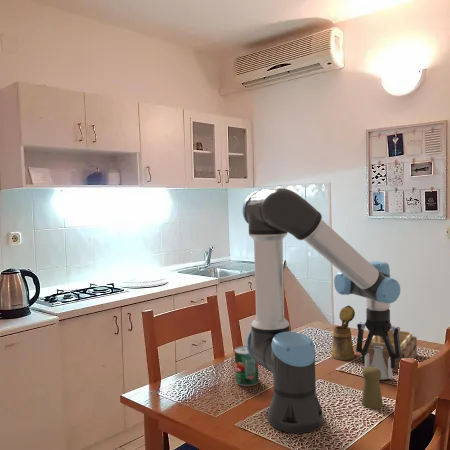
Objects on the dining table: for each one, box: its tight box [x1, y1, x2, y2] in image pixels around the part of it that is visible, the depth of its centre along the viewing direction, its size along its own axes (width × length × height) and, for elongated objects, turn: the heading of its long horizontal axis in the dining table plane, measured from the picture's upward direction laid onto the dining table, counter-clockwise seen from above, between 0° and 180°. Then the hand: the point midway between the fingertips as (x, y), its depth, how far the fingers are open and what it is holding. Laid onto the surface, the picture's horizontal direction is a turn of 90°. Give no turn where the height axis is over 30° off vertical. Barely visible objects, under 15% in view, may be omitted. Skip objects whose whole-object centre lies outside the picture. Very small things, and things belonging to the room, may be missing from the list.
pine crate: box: [369, 329, 413, 352], centre depth 172 cm, size 18×12×8 cm, turn 147°
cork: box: [361, 367, 384, 410], centre depth 137 cm, size 6×6×11 cm
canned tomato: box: [234, 345, 260, 387], centre depth 158 cm, size 8×8×11 cm
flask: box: [370, 346, 389, 381], centre depth 156 cm, size 7×7×10 cm
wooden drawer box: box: [363, 335, 418, 373], centre depth 172 cm, size 21×14×7 cm, turn 147°
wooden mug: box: [330, 305, 356, 361], centre depth 180 cm, size 9×14×18 cm, turn 147°
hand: (378, 375), depth 156 cm, fingers closed on flask, 7 cm apart
